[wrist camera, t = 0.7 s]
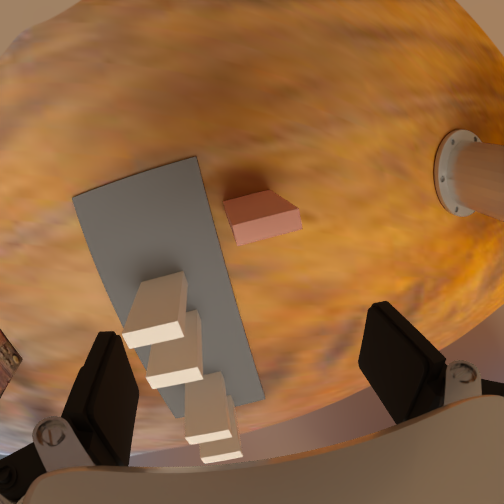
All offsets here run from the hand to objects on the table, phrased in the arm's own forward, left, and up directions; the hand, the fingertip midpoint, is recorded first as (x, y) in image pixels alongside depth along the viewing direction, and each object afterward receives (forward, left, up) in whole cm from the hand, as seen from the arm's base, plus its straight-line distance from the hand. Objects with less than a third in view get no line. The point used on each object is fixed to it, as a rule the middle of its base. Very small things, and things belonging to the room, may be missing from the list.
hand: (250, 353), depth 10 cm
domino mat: (+8, +10, -22) cm, 26 cm away
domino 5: (-3, -1, -22) cm, 23 cm away
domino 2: (+8, +10, -22) cm, 25 cm away
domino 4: (+8, +25, -22) cm, 34 cm away
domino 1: (+8, +5, -22) cm, 24 cm away
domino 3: (+8, +20, -22) cm, 31 cm away
